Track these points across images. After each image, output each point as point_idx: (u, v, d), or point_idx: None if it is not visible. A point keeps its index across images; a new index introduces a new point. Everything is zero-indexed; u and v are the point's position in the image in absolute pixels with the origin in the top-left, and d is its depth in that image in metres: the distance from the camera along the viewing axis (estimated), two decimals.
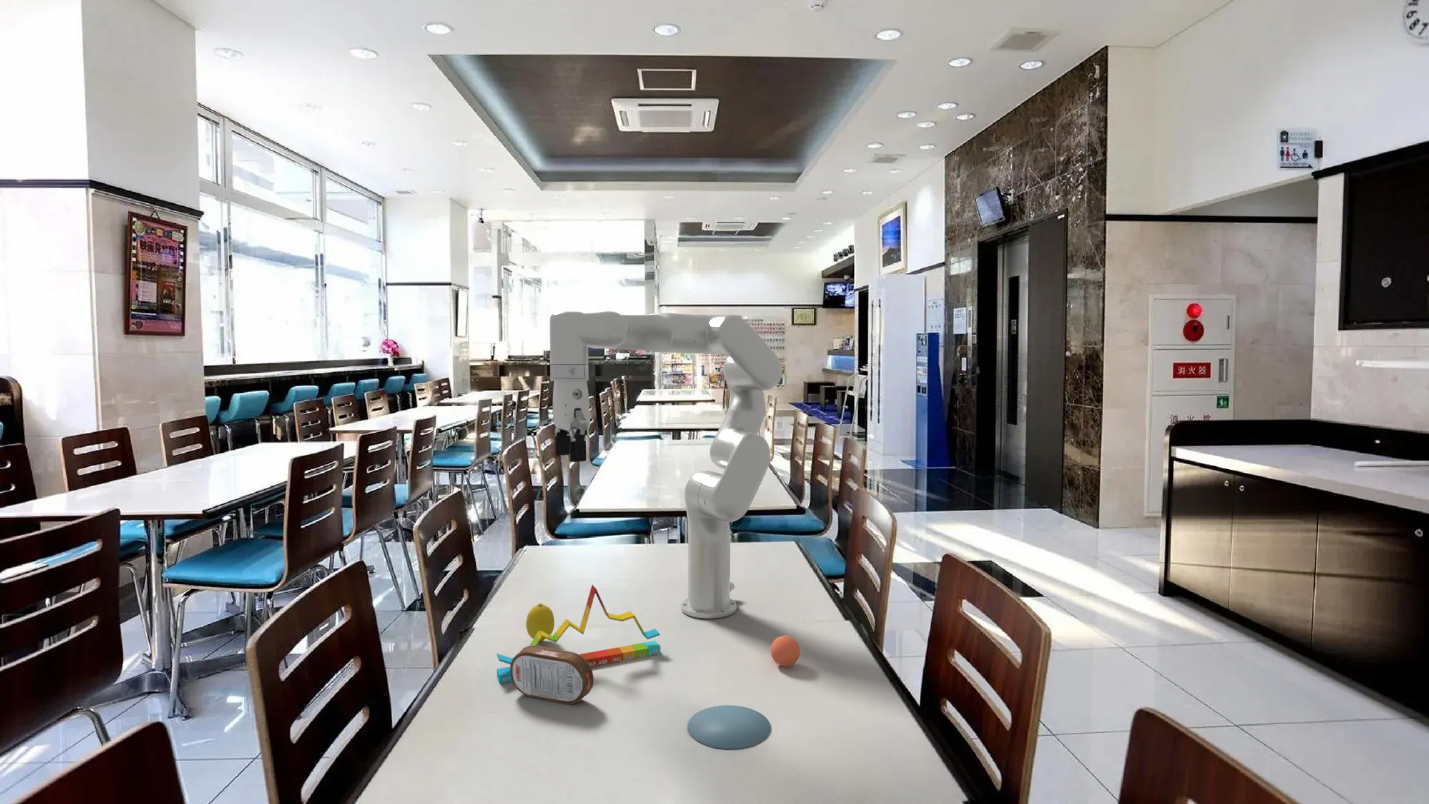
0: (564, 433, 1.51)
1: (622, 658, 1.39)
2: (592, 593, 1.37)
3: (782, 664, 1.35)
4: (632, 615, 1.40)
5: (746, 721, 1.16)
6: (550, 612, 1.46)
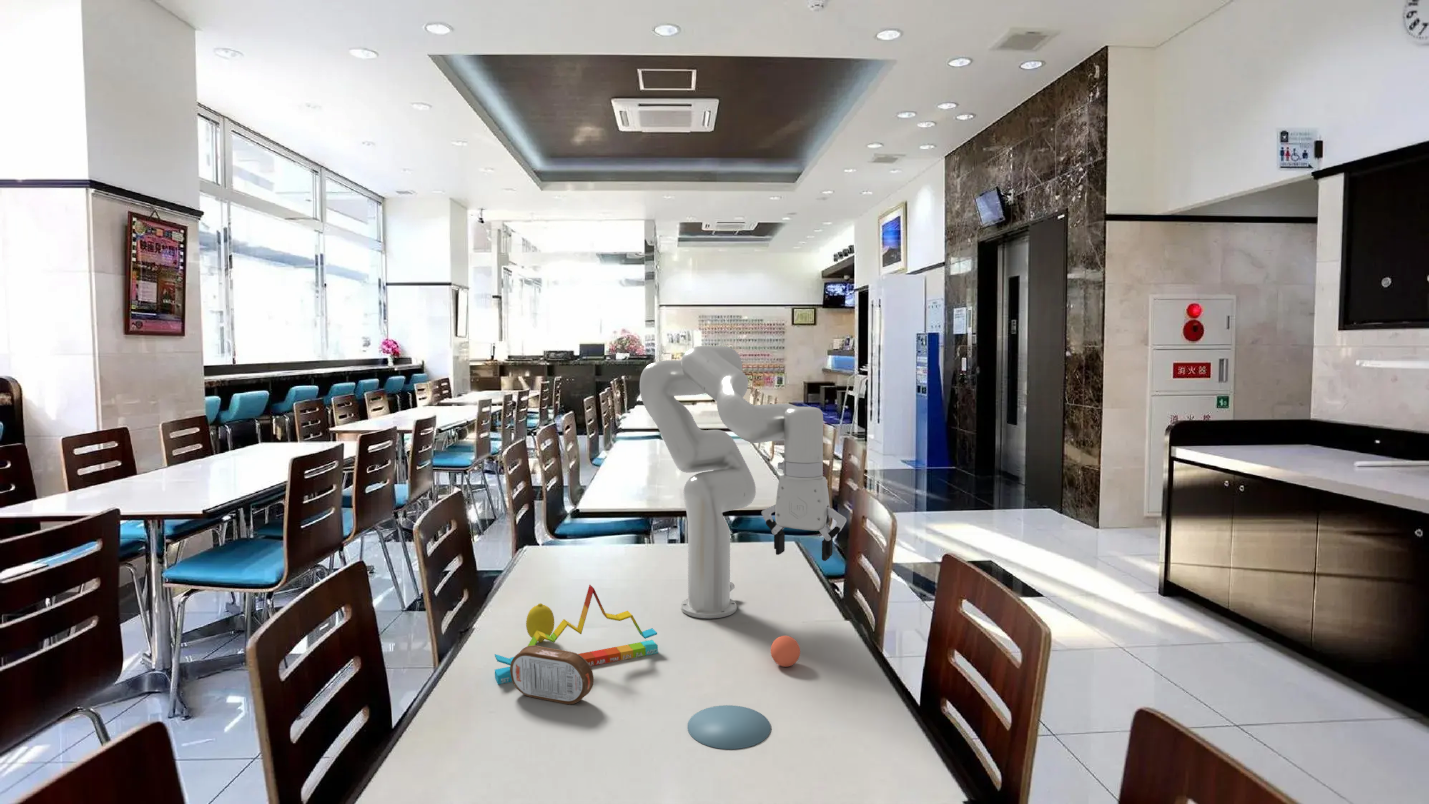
0: None
1: (620, 657, 1.39)
2: (590, 593, 1.37)
3: (782, 664, 1.35)
4: (630, 615, 1.40)
5: (746, 721, 1.16)
6: (550, 612, 1.46)
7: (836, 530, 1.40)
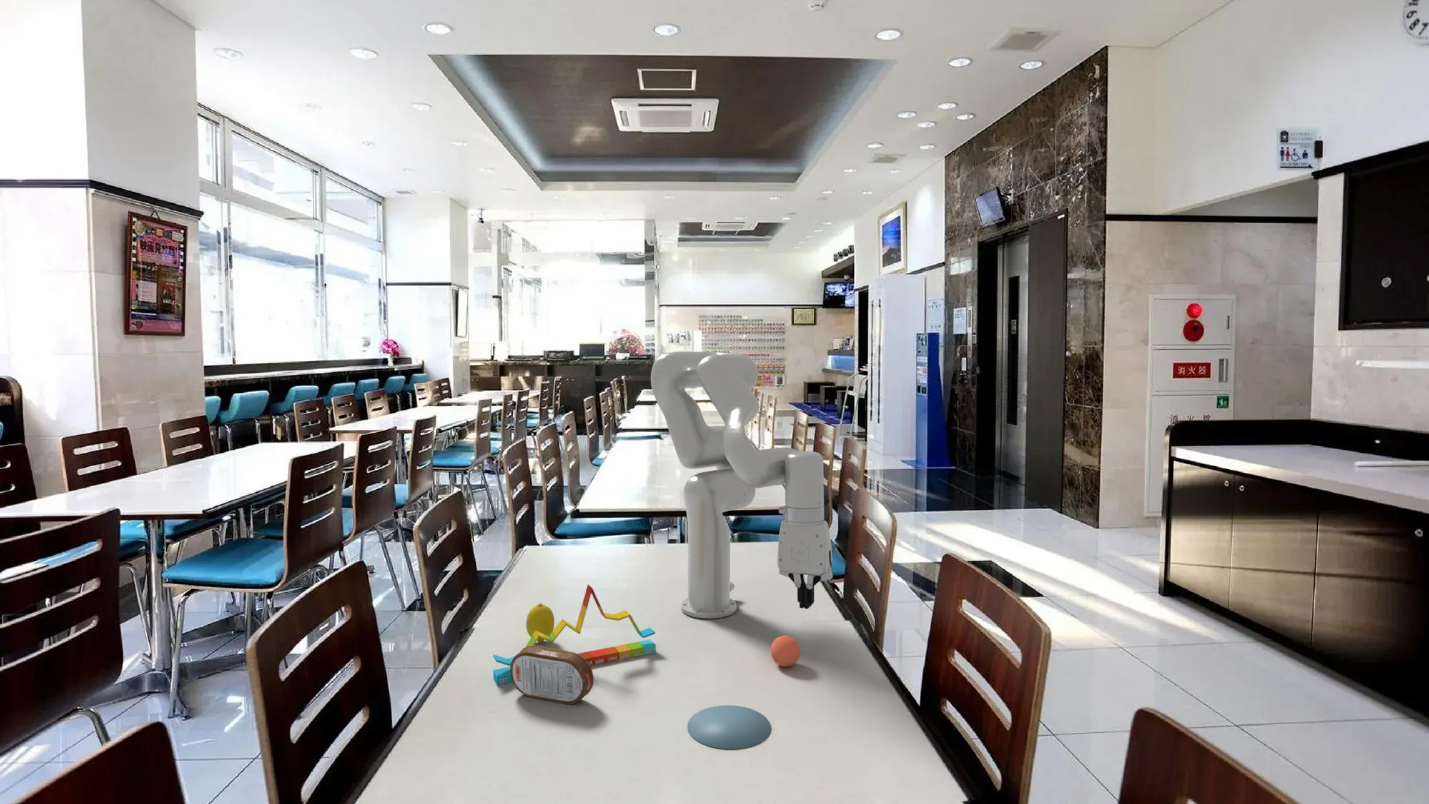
0: None
1: (618, 657, 1.39)
2: (588, 593, 1.37)
3: (782, 664, 1.35)
4: (628, 614, 1.40)
5: (746, 721, 1.16)
6: (550, 612, 1.46)
7: (817, 578, 1.42)
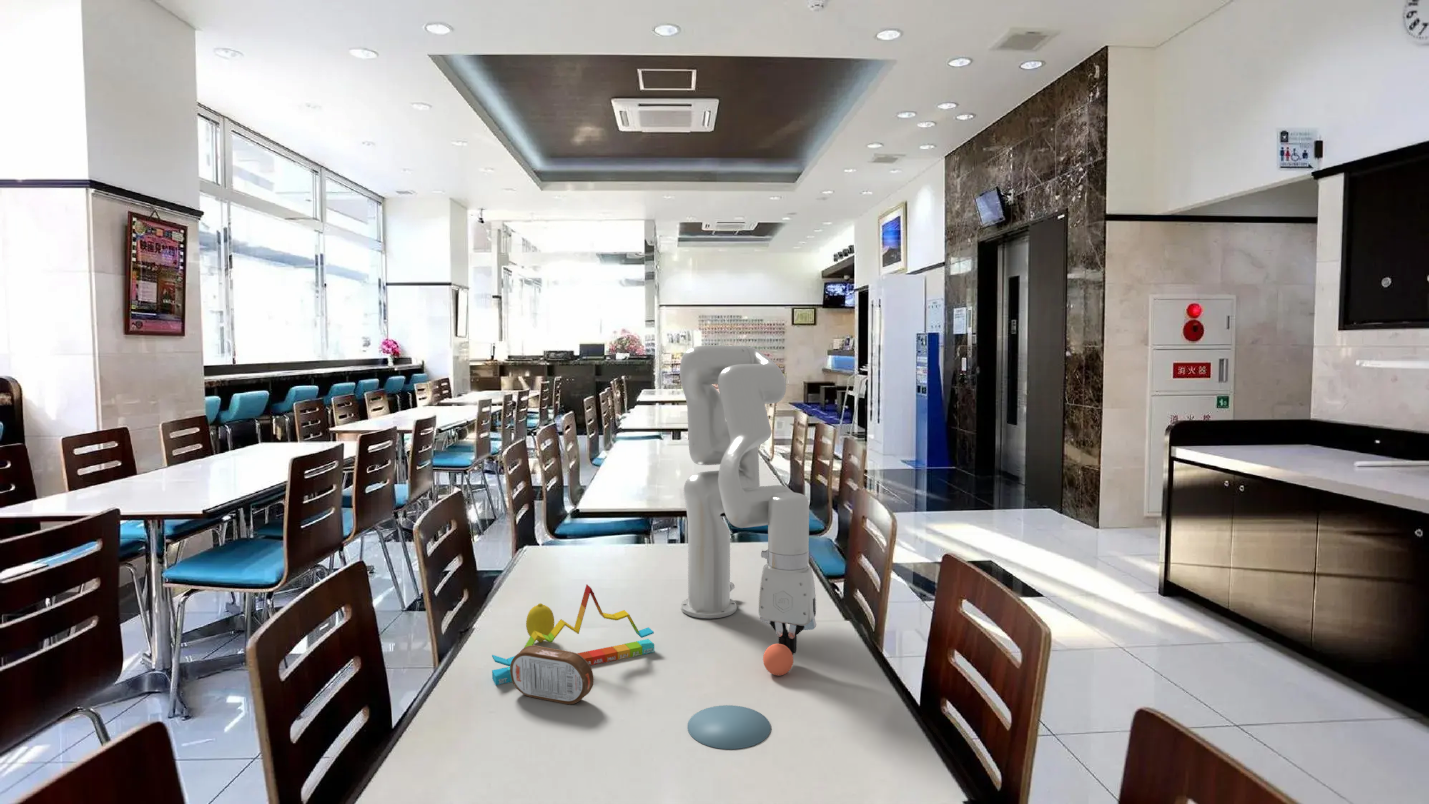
0: None
1: (617, 657, 1.39)
2: (587, 593, 1.37)
3: None
4: (626, 614, 1.40)
5: (746, 721, 1.16)
6: (550, 612, 1.46)
7: (800, 628, 1.35)
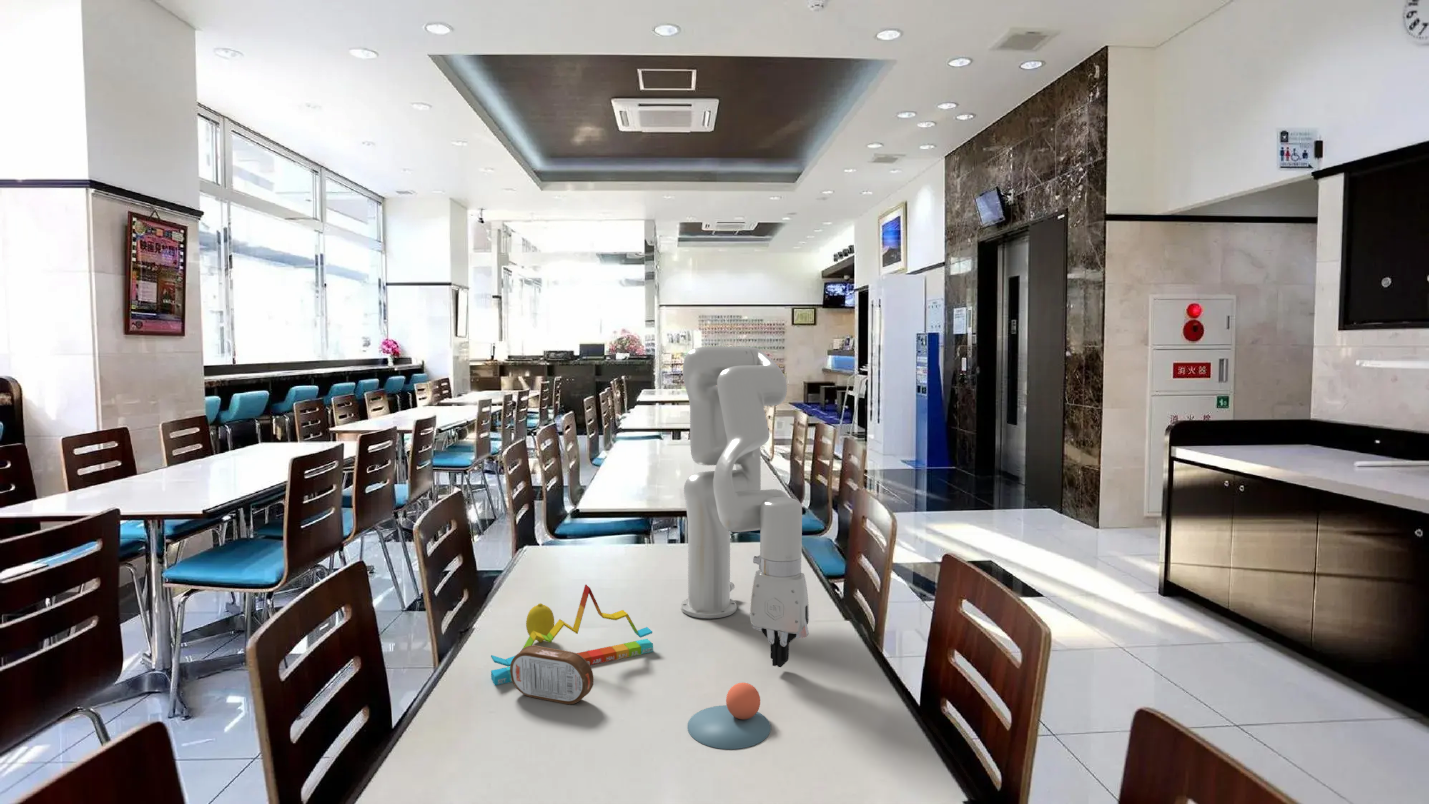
0: None
1: (616, 657, 1.39)
2: (586, 592, 1.37)
3: None
4: (625, 614, 1.40)
5: (746, 721, 1.16)
6: (550, 612, 1.46)
7: (792, 635, 1.32)
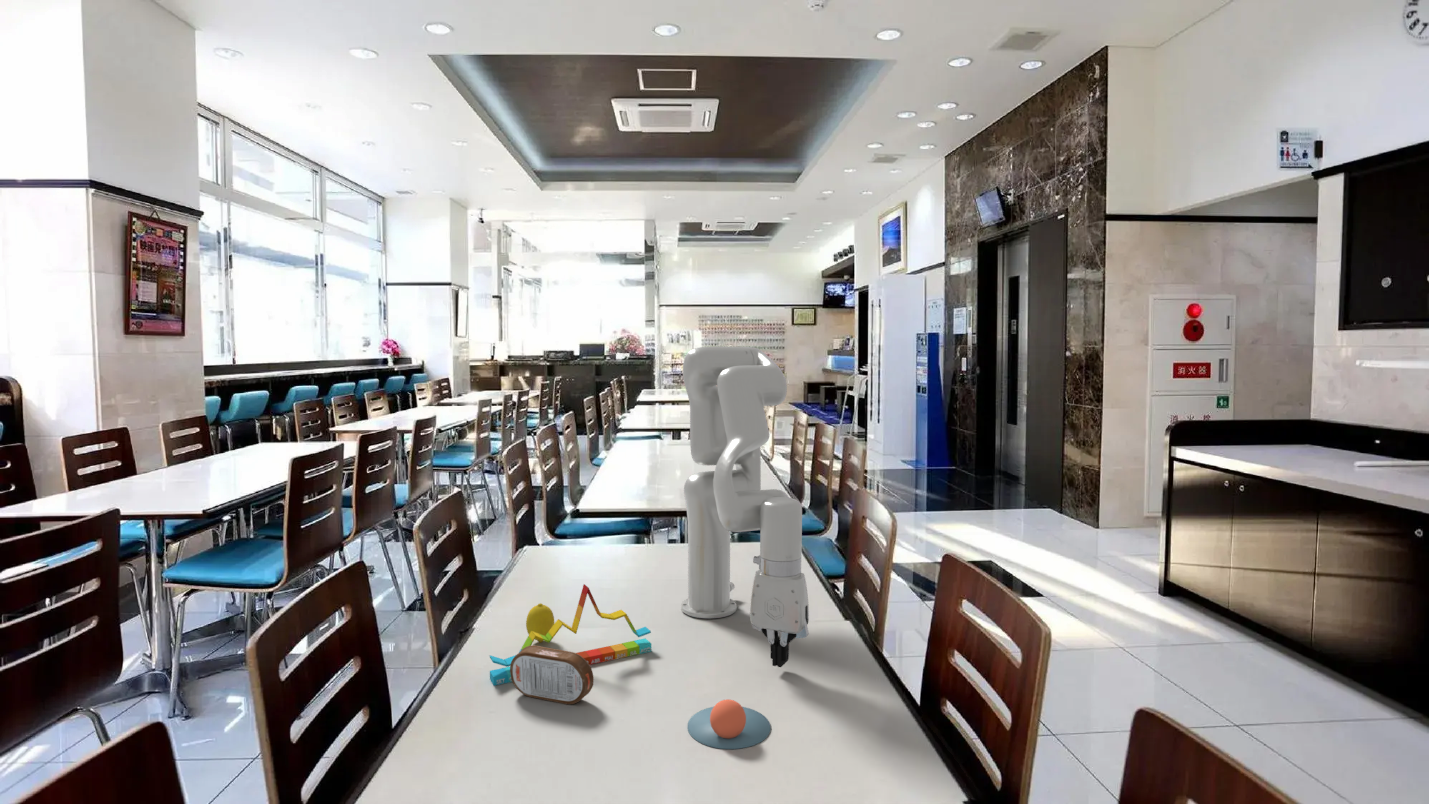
0: None
1: (614, 656, 1.39)
2: (584, 592, 1.37)
3: (732, 700, 1.13)
4: (624, 613, 1.40)
5: (746, 721, 1.16)
6: (550, 612, 1.46)
7: (792, 635, 1.32)
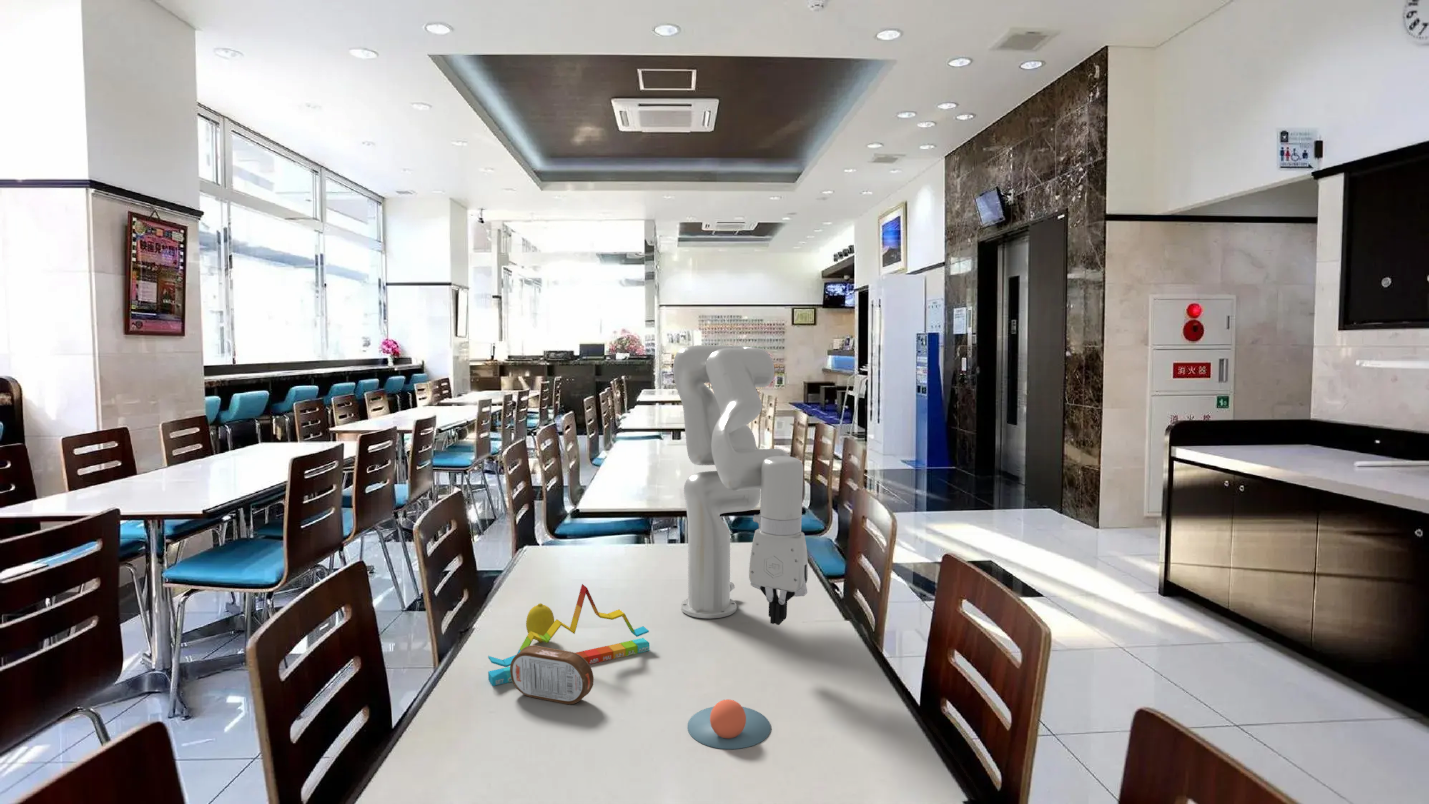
0: None
1: (612, 656, 1.39)
2: (583, 592, 1.37)
3: (732, 700, 1.13)
4: (622, 613, 1.41)
5: (746, 721, 1.16)
6: (550, 612, 1.46)
7: (791, 594, 1.32)
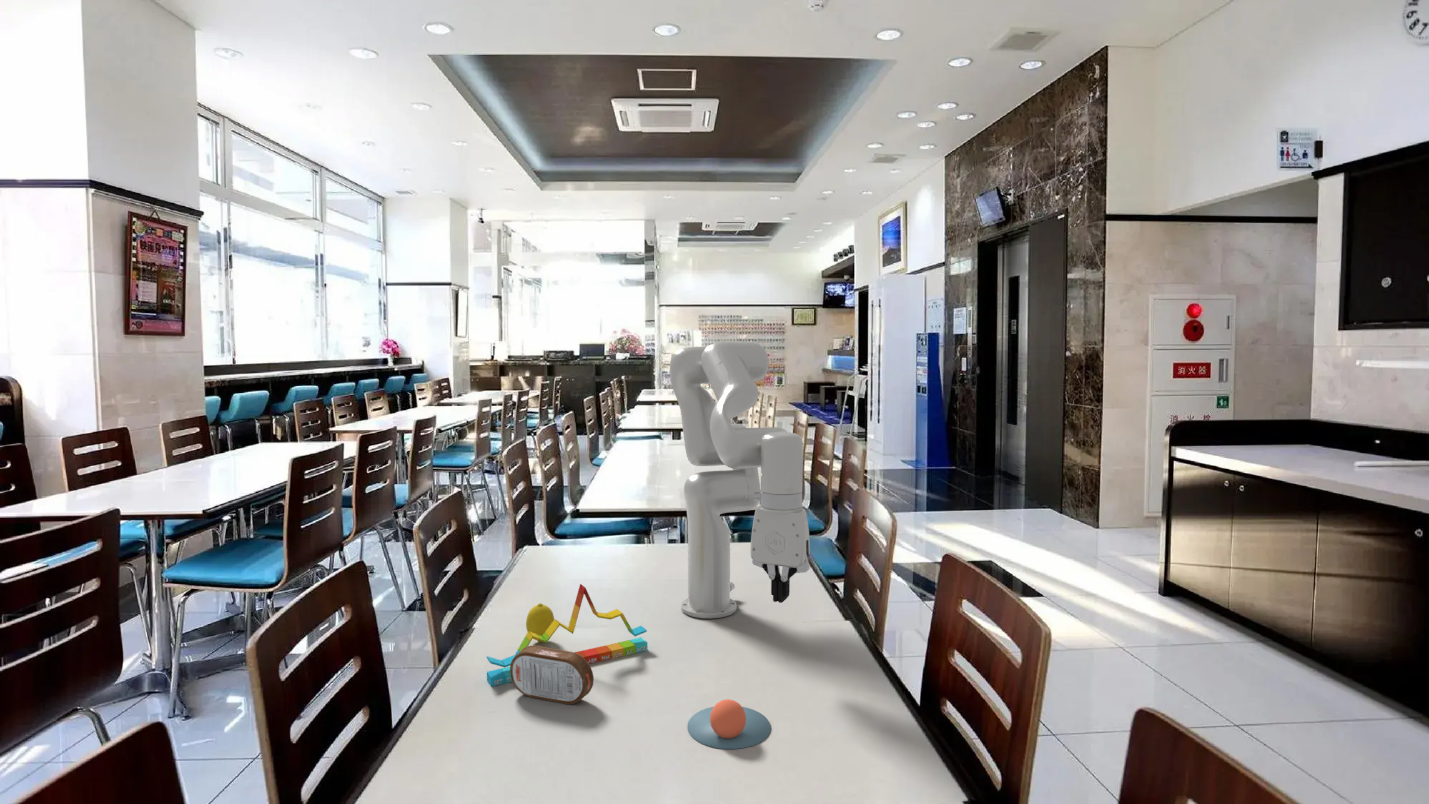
0: None
1: (611, 656, 1.40)
2: (581, 592, 1.37)
3: (732, 700, 1.13)
4: (620, 613, 1.41)
5: (746, 721, 1.16)
6: (550, 612, 1.46)
7: (793, 570, 1.31)
